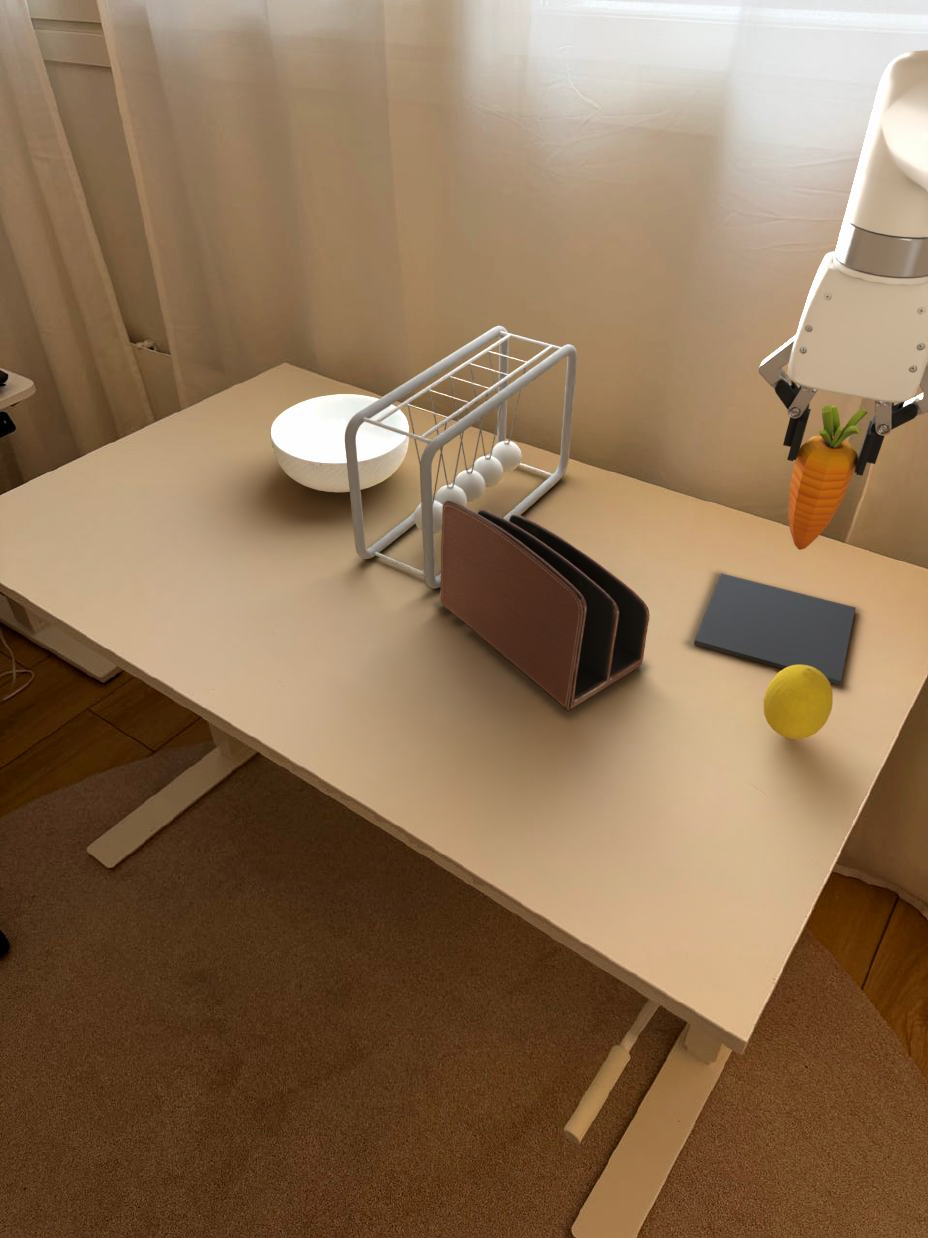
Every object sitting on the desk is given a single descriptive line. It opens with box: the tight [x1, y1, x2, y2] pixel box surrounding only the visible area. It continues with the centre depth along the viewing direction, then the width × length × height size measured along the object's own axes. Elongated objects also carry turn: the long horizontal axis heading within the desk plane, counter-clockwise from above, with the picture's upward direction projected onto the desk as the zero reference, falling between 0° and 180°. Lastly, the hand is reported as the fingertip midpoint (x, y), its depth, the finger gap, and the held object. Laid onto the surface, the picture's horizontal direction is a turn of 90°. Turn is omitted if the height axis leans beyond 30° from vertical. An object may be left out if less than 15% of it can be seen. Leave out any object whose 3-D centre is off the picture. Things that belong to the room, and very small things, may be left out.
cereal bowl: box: [270, 393, 410, 493], centre depth 111 cm, size 17×17×7 cm
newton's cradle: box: [345, 325, 578, 589], centre depth 101 cm, size 30×10×18 cm, turn 146°
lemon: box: [762, 665, 834, 740], centre depth 78 cm, size 6×6×8 cm
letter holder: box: [439, 501, 651, 712], centre depth 86 cm, size 10×20×14 cm, turn 38°
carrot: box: [787, 404, 868, 551], centre depth 80 cm, size 5×5×15 cm
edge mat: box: [694, 572, 856, 686], centre depth 91 cm, size 14×12×1 cm
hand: (826, 458), depth 78 cm, fingers closed on carrot, 5 cm apart
